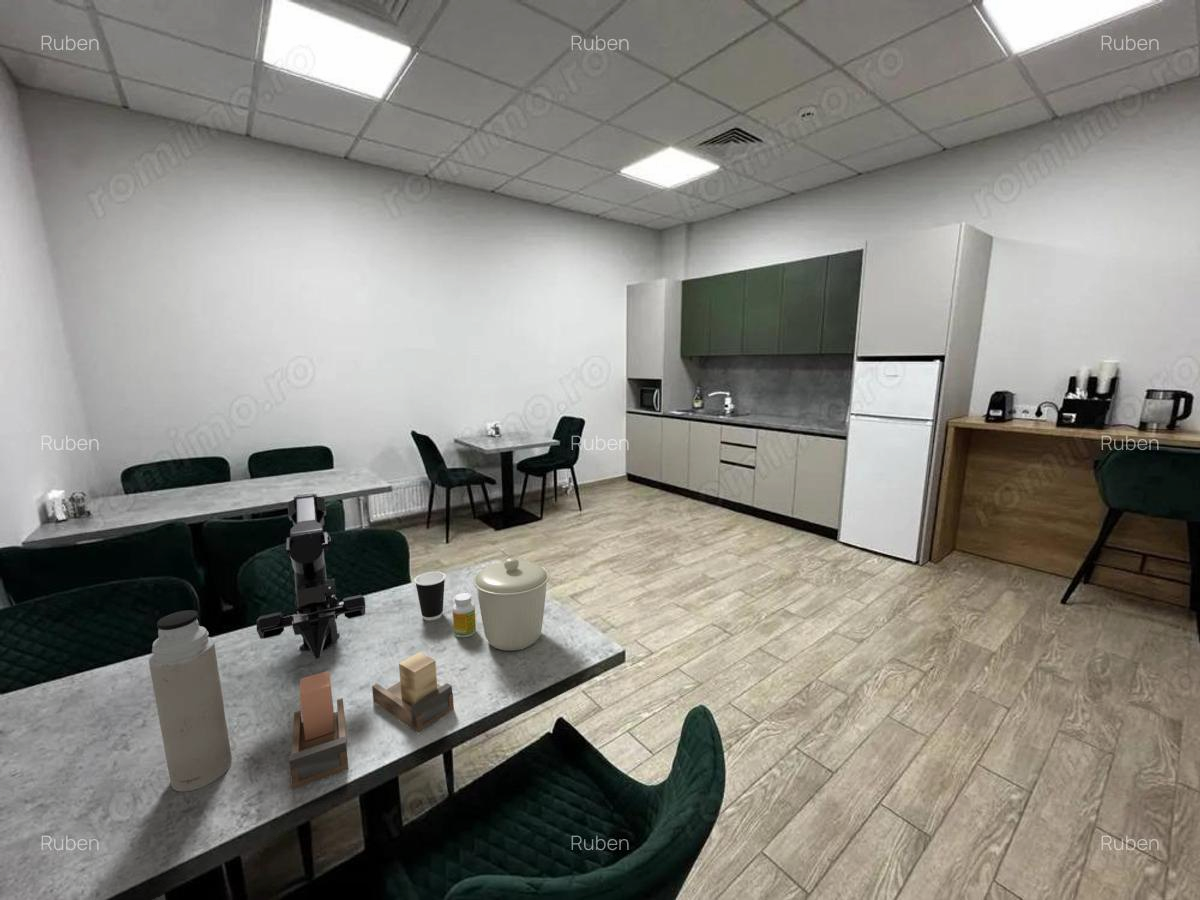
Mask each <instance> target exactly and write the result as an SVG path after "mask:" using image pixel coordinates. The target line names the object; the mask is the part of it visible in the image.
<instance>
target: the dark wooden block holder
mask: <svg viewBox="0 0 1200 900" xmlns="http://www.w3.org/2000/svg"><path fill="white" fill-rule="evenodd" d="M336 706H337V711H334V726H335V732H331V733H328V734H325V735H322V736H319V737H316V738H313V739H310V740H307V741H305V734H304V726H303V718H302V710H298V711H295V712H293V725H292V739H291V740H292V741H291V752H290V753H291V754H289V756H288V757H289V760H288V761H289V772H290V780H291V787H292V790H295V789H298V788H301V787H303V786H306V785H309V784H312V783H314V782H317V781H319V780H323V779H325V778H328V777H331V776H334V775H336V774H340V773H342V772H344V771H348V770H349V760H348V759H349V757H348V746H347V743H348V742H347V733H346V732H347V731H346V717H345V708H344V698H343V697H342V698H338V699H337V700H336ZM311 782H312V783H311Z"/></svg>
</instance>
